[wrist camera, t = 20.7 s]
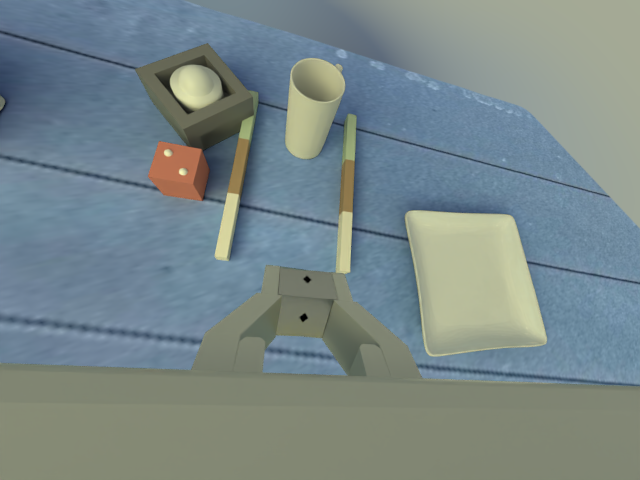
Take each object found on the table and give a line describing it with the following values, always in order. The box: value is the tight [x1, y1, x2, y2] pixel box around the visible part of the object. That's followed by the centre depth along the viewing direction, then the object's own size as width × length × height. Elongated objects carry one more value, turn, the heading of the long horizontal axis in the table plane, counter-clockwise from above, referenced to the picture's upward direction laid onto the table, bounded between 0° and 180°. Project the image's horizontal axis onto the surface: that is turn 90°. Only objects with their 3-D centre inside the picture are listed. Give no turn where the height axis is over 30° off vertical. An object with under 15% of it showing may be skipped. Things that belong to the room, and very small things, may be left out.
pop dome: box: [170, 65, 224, 114], centre depth 34 cm, size 6×6×4 cm
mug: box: [285, 58, 345, 159], centre depth 36 cm, size 10×7×12 cm, turn 144°
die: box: [148, 141, 210, 201], centre depth 33 cm, size 5×5×5 cm
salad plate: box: [405, 210, 547, 356], centre depth 39 cm, size 21×21×3 cm
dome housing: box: [135, 43, 254, 151], centre depth 36 cm, size 11×11×6 cm
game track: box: [215, 90, 356, 274], centre depth 38 cm, size 27×18×2 cm, turn 175°
